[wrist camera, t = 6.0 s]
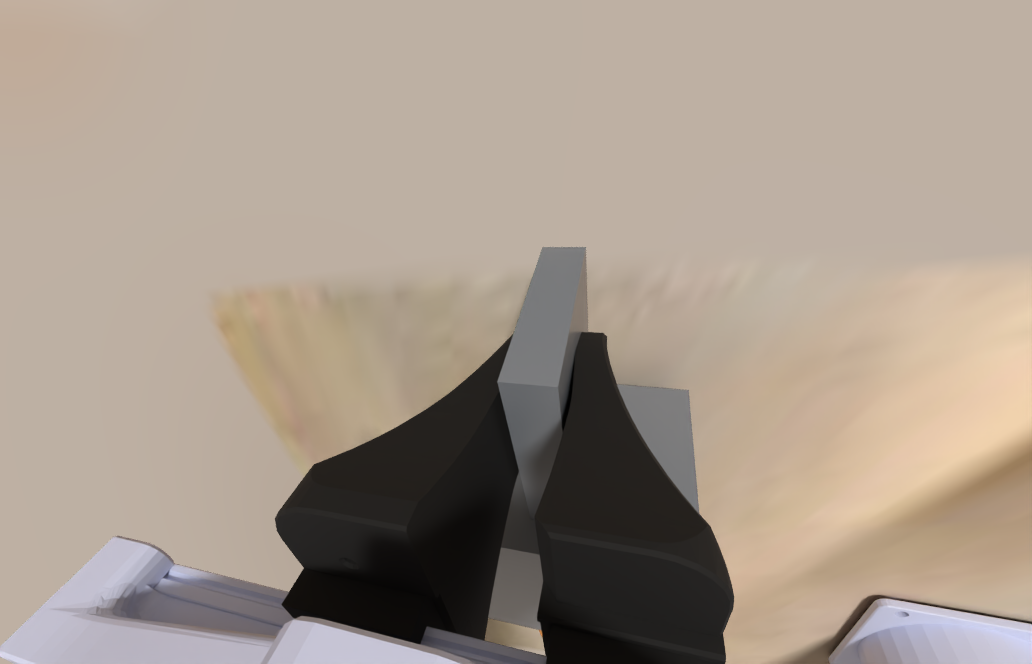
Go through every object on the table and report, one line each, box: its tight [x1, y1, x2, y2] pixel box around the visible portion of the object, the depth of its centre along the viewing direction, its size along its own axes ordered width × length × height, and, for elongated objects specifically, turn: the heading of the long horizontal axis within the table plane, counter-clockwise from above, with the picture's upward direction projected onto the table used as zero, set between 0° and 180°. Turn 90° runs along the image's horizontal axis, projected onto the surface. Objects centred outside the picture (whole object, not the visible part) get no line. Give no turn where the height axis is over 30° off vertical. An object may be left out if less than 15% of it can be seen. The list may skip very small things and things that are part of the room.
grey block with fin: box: [488, 247, 699, 630], centre depth 14 cm, size 14×8×6 cm, turn 5°
